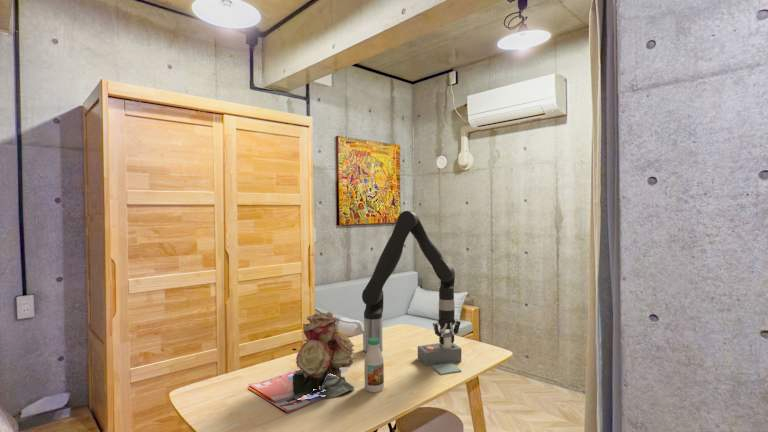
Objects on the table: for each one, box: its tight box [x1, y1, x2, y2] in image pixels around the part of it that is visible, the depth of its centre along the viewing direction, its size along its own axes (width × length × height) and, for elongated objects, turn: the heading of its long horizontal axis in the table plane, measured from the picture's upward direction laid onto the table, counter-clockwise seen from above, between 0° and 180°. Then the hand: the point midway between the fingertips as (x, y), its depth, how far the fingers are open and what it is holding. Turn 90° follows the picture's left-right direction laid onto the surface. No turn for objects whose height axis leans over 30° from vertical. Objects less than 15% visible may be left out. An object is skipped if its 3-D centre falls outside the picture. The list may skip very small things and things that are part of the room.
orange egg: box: [425, 346, 434, 351], centre depth 188 cm, size 4×4×6 cm
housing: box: [417, 342, 462, 367], centre depth 190 cm, size 18×10×6 cm, turn 109°
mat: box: [431, 362, 462, 376], centre depth 179 cm, size 10×9×1 cm
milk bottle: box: [364, 338, 385, 393], centre depth 160 cm, size 8×8×20 cm
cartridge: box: [442, 331, 452, 349], centre depth 191 cm, size 5×5×12 cm
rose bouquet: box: [291, 311, 357, 400], centre depth 163 cm, size 26×29×30 cm
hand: (446, 343), depth 191 cm, fingers closed on cartridge, 4 cm apart
